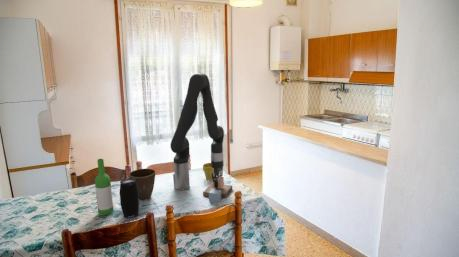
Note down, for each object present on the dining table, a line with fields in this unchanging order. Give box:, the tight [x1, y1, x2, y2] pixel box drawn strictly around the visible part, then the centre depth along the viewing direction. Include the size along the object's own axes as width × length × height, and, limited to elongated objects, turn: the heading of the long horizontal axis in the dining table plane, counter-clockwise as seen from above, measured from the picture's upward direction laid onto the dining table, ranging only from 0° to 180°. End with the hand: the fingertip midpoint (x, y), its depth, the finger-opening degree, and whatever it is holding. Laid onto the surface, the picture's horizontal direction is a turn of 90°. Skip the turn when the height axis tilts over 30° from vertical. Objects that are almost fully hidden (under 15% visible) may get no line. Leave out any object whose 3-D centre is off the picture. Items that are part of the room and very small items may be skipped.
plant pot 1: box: [128, 168, 156, 202], centre depth 189 cm, size 15×15×16 cm
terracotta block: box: [211, 176, 225, 189], centre depth 195 cm, size 6×6×6 cm
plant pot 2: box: [202, 162, 214, 181], centre depth 220 cm, size 10×10×10 cm
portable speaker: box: [119, 177, 140, 219], centre depth 167 cm, size 9×9×20 cm
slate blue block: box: [208, 189, 222, 203], centre depth 185 cm, size 6×6×6 cm
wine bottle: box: [94, 158, 114, 216], centre depth 170 cm, size 8×8×30 cm
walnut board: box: [202, 183, 233, 199], centre depth 196 cm, size 14×14×2 cm
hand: (217, 185), depth 196 cm, fingers closed on terracotta block, 5 cm apart
